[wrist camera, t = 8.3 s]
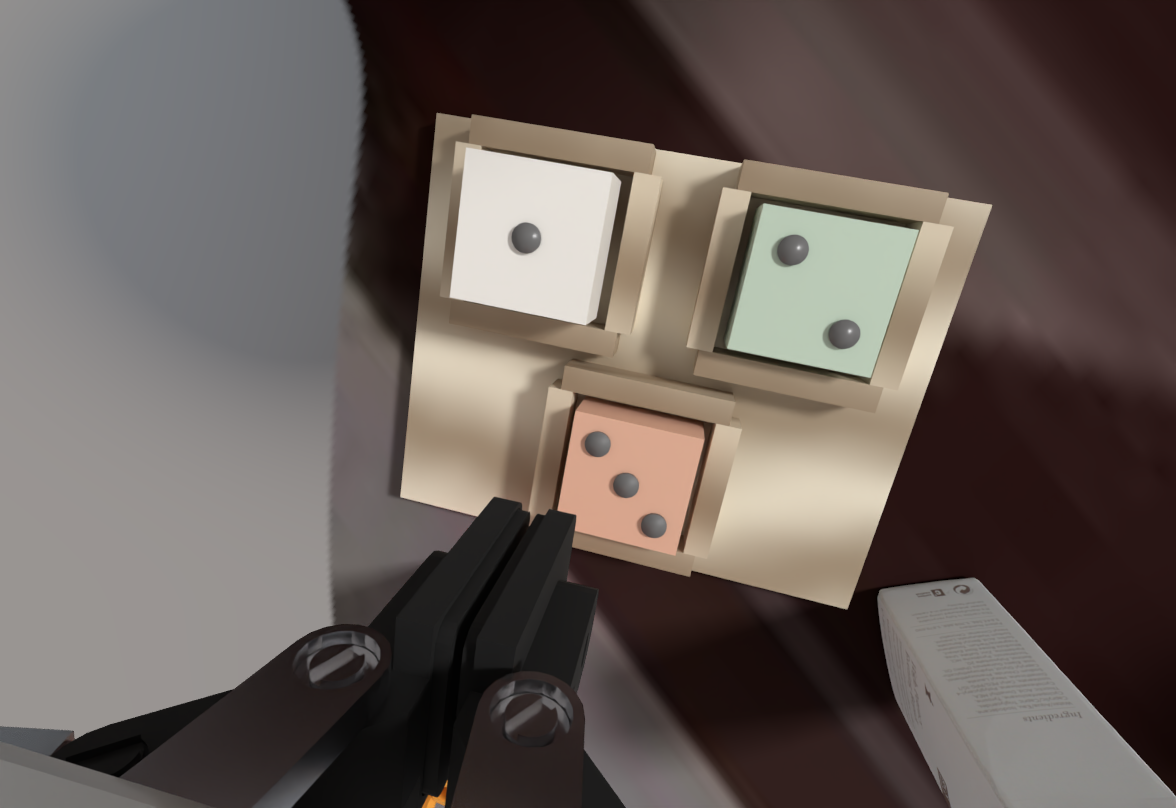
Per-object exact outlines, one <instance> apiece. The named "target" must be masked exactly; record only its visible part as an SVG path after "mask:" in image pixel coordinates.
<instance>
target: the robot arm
mask: <svg viewBox="0 0 1176 808" xmlns="http://www.w3.org/2000/svg"><path fill="white" fill-rule="evenodd" d="M529 523H530V512H528V511H524V510H522V503H521V502H517V501H512V500H508V499H503V498H499V497H493V498H492V499H491V501H490V502H489V503H488V504H487V506H486V507H485V508H484V509H483V511H482V512H481V513H480V514H479V515H478V517H477V518H476V519H475V520H474V522H473V523H472V524H471V525H470V527H469V528H468V529H467V530H466V532H465V533H464V534H463V535H462V536H461V538H460V539H459V540H458V541H457V543H456V544H455V545H454V546H453V548H452V549H451V550H450V551H449V553H446V552H442V551H434V552H433V553H432V554H431V555H430V556H429V557H428V558H427V559H426V560H425V561H424V563H423V564H422V565H421V566H420V567H419V568H418V569H417V571H416V572H415V573H414V574H413V575H412V576H411V578H410V579H409V580H408V581H407V582H406V583H405V585H404V586H403V587H402V588H401V589H400V590H399V591H398V593H397V594H396V595H395V596H394V597H393V598H392V600H391V601H390V602H389V603H388V604H387V605H386V607H385V608H384V609H383V610H382V611H381V612H380V613H379V615H378V616H377V617H376V618H375V619H374V620H373V622H372V623H371V624H370V625H369V626H368V627H365V626H361V625H351V624H341V625H335V626H329V627H325V628H322V629H319V630H316V631H313V632H311V633H309V634H307V635H306V636H304V637H302V638H301V639H299V640H297V641H296V642H295V643H294V644H292V645H291V646H289V647H288V648H287V649H286V650H284V651H283V652H282V653H280V654H279V655H278V656H276V657H275V658H274V659H273V660H271V661H270V662H269V663H268V664H266V665H265V666H264V667H262V668H261V669H260V670H258V671H257V672H256V673H255V674H253V675H252V676H250V677H249V678H248V679H247V680H245V681H244V682H243V683H241V684H240V685H239V686H237V687H236V688H235V689H233V690H229V691H226V692H222V693H219V694H215V695H212V696H208V697H205V698H201V699H198V700H194V701H191V702H187V703H184V704H180V705H177V706H173V707H170V708H166V709H163V710H159V711H156V712H152V713H149V714H145V715H142V716H138V717H135V718H131V719H128V720H124V721H121V722H117V723H114V724H110V725H107V726H105V727H102V728H99V729H97V730H94V731H91V732H89V733H86V734H84V735H83V736H81V737H79V738H77V739H75V738H74V731H70V730H54V729H37V728H21V727H20V728H19V727H2V726H0V808H422V807H423V805H424V803H425V801H426V798H427V796H428V795H430V796H434V797H439V796H440V794H441V792H442V791H443V789H444V786H445V784H446V782H447V780H448V782H447V791H446V800H445V808H626V807H625V806H624V805H623V803H622V802H621V800H620V799H619V798H618V796H617V795H616V793H615V792H614V791H613V789H612V788H611V786H610V785H609V784H608V782H607V781H606V780H605V778H604V777H603V775H602V774H601V773H600V771H599V770H598V768H597V767H596V766H595V764H594V763H593V761H592V760H591V759H590V757H589V756H588V754H587V753H586V752H585V750H584V729H585V716H584V709H583V704H582V703H581V701H580V699H579V697H578V695H577V691H578V687H579V683H580V679H581V675H582V671H583V667H584V663H585V659H586V655H587V650H588V646H589V641H590V636H591V631H592V626H593V621H594V615H595V610H596V604H597V598H598V591H599V589H596V588H592V587H588V586H584V585H580V584H576V583H571V582H567V575H568V569H569V563H570V557H571V550H572V544H573V538H574V532H575V526H576V515H575V514H570V513H566V512H561V511H557V510H553V509H549V510H548V511H547V513H546V515H542V514H537V515H536V516H535V518H534V519H533V521H532V523H531V524H530V526H529Z"/></svg>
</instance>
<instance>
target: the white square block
mask: <svg viewBox="0 0 1176 808" xmlns="http://www.w3.org/2000/svg"><path fill="white" fill-rule="evenodd" d="M620 186H621V181H620V180H619V179H618V178H617V177H616V175H615V174H614V173H612V172H606V171H601V170H595V169H589V168H583V167H577V166H572V165H566V164H560V163H554V162H548V161H543V160H537V159H531V158H525V157H519V156H514V155H508V154H502V153H496V152H490V151H485V150H479V149H473V148H467V147H466V153H465V162H464V171H463V180H462V189H461V198H460V207H459V217H458V226H457V235H456V244H455V253H454V262H453V271H452V280H451V290H450V297H451V298H455V299H460V300H465V301H470V302H475V303H480V304H485V305H489V306H494V307H499V308H504V309H509V310H514V311H519V312H523V313H528V314H533V315H538V316H543V317H548V318H553V319H558V320H562V321H567V322H572V323H577V324H582V325H587V324H588V323H590V322H591V321H593V320H594V319H596V318H597V312H598V307H599V301H600V296H601V290H602V285H603V279H604V274H605V268H606V263H607V257H608V252H609V246H610V241H611V236H612V230H613V225H614V219H615V214H616V208H617V203H618V197H619V192H620Z"/></svg>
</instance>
